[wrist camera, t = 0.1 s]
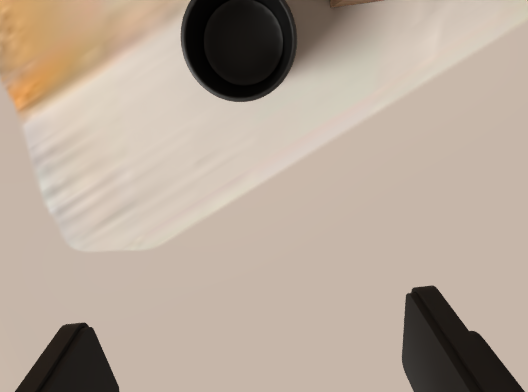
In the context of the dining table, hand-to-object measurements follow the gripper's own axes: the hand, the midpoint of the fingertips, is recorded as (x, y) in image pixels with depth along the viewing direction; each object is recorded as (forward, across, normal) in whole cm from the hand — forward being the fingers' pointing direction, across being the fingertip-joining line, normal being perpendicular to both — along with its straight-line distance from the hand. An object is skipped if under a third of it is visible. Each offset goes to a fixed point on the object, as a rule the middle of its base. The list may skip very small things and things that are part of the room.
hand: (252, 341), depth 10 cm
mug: (+31, 0, -10) cm, 33 cm away
